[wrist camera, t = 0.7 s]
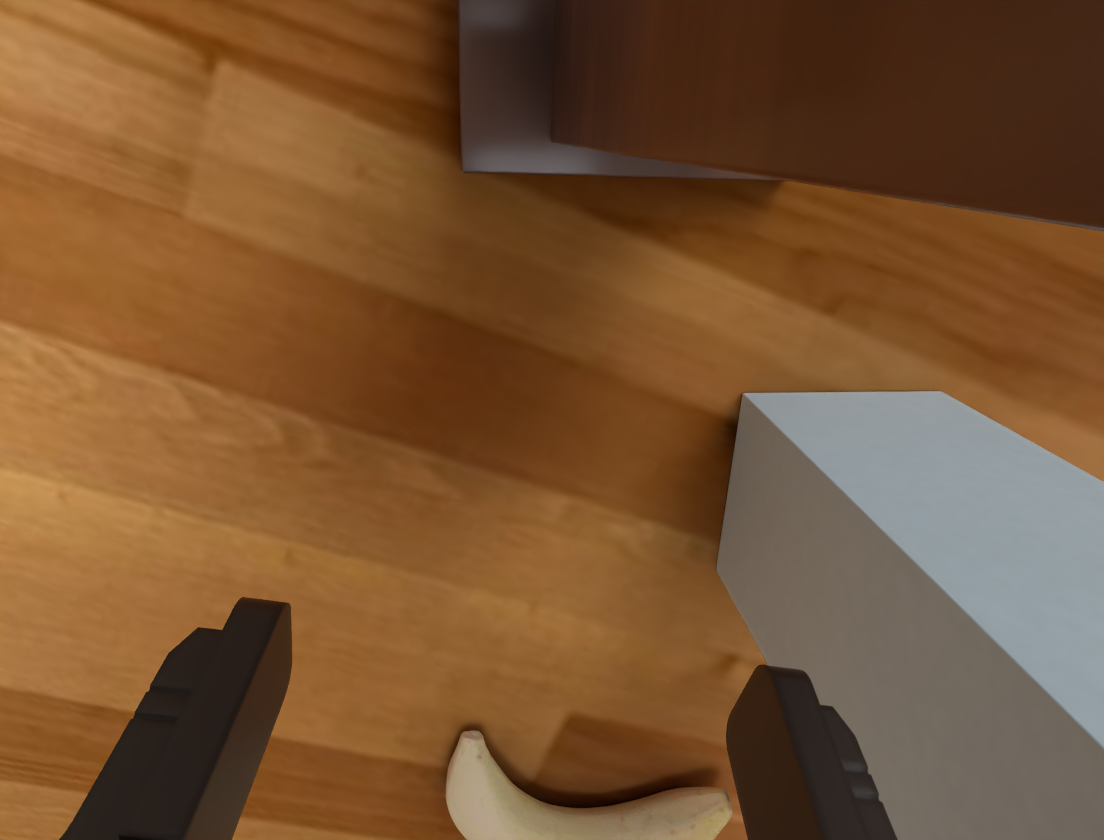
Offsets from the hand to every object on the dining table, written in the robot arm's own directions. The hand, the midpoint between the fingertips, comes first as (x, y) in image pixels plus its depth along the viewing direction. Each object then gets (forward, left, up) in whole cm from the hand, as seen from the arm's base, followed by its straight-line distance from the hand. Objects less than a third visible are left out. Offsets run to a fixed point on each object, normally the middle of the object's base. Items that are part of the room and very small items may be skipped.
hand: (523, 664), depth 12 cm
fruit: (+24, +5, -17) cm, 30 cm away
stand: (-11, +5, -17) cm, 21 cm away
